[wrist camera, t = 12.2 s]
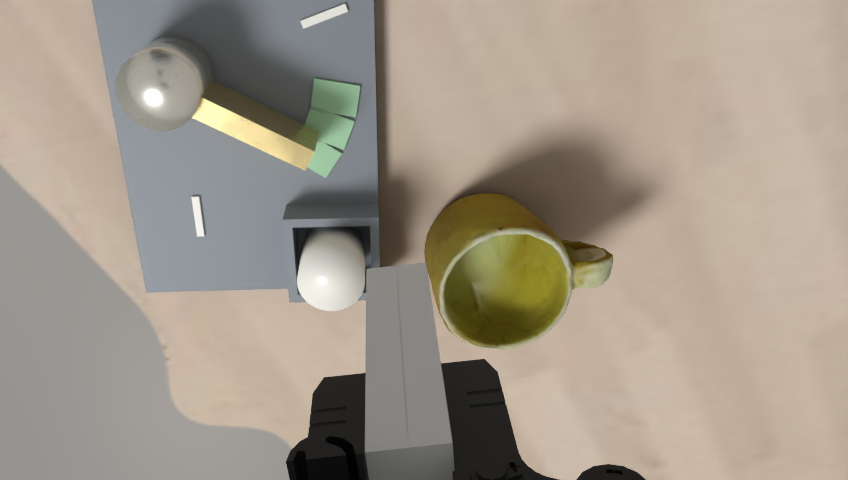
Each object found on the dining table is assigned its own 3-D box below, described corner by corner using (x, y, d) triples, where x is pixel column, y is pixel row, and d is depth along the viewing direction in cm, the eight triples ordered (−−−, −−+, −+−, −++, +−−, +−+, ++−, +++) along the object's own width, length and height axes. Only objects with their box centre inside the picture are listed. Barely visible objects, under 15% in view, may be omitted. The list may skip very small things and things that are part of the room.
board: (87, -66, 44) (63, -62, 40) (372, -65, 45) (372, -61, 41) (150, 284, 54) (136, 310, 51) (380, 278, 55) (380, 303, 52)
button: (300, 223, 50) (294, 252, 46) (364, 221, 51) (363, 251, 47) (304, 278, 52) (299, 311, 48) (366, 277, 53) (365, 310, 49)
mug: (401, 322, 55) (443, 363, 45) (409, 186, 53) (454, 199, 44) (548, 320, 58) (615, 357, 49) (559, 193, 57) (631, 206, 48)
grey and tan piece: (129, 88, 46) (104, 109, 42) (154, 22, 45) (131, 37, 40) (300, 168, 49) (293, 195, 45) (329, 109, 48) (325, 132, 43)
